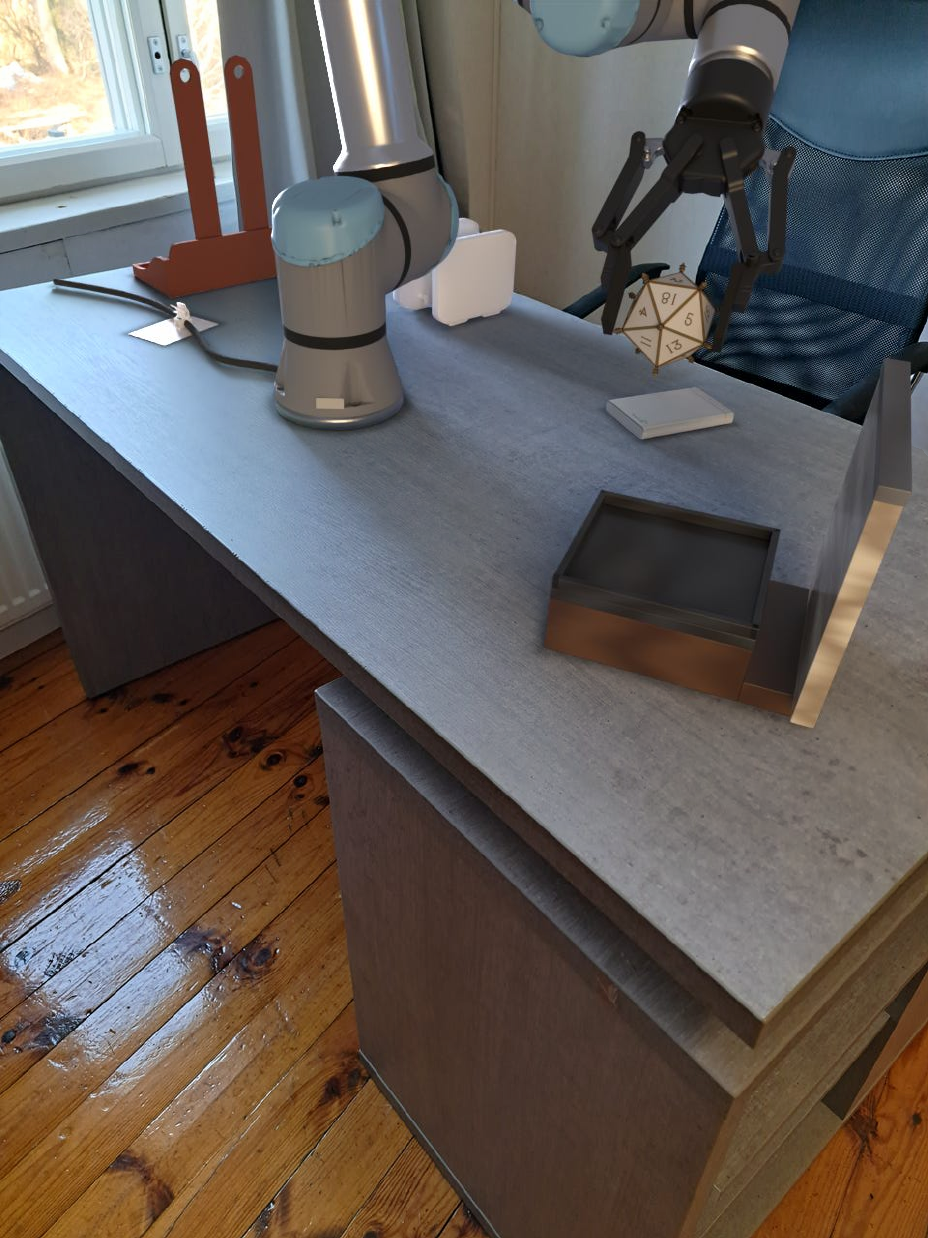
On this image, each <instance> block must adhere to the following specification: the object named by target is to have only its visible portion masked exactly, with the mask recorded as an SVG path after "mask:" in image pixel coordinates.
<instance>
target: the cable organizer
mask: <svg viewBox="0 0 928 1238" xmlns="http://www.w3.org/2000/svg"><path fill="white" fill-rule="evenodd" d="M480 230H481V229H480V226H479V224H478V222H476V221H475V220H472V219H469V218H466V217H459V228H458V234H457V238H456V241H455V244H454V246H453V248H452V250H451V251H450V253H449V254H448V256H447V257H446V258H445V259H444V260H443V261H442V262H441V263H440V264H439V265H437V266H436V268H435V269H433V270H432V271H431V272H430V273H429V274H427V275H425V276H423V277H421V278H419V279H416V280H412V281H410V282H409V283H407V284H405V285H403V286H401V287H400V288H398V289H396V290H394V291H392V296H393V297H392V298H393V301H394V303H395V304H396V305H398V306H400V307H402V308H404V309H406V310H412V311H417V310H422V309H425V308H430V307H431V310H432V312H431V313H432V316H433V319H435V320H436V321H437V322H439V323H442V324H444V325H447V326H448V327H454V326H457V325H460V324H463V323H466V322H468V320H470V319H475V318H478V317H483V318H488V317H491V316H495V315H498V314H500V313H501V312H502V311H503V310H506V309H507V308H508V307H509V306H510V304H511V303H512V302H513V297H514V288H515V274H516V273H515V271H516V259H517V257H516V255H517V238H516V235H515V234H514V233H513V232H512V231H509V230H506V229H494V230H490V231H484V232H480Z"/></svg>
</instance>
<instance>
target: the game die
mask: <svg viewBox="0 0 928 1238" xmlns="http://www.w3.org/2000/svg"><path fill="white" fill-rule="evenodd" d="M686 268H687V266H686V264H685V261H684V262H682V263H681V264H680V265H679V268H678V272H674V273H671V274H667V275H664V276H660V277H656V278H652V279H649V278H650V276H649V274H648V273H645V272H642V273H641V276H640V277H641V280H642V281H643V282H644V283H643V285H642V287H640V289H639V290H638V291H637V293H634V292H633V291H630V292H627V293H628V299H630V300H632V302H631V305H630V307H629V310H628V311H627V315H626V317H625V319H624V322H623V324H622V327H615V328H614V330H613V332H612V333H613V334H615V335H616V336H617V335H621V333H623V335H625V336H626V338H627V339H628V340H629V341H630V342H631V343H632V345H634V346H635V347H636V348H635V349H634V350H635V353H634V354H635V355H640V354H642V355H643V356H644V358H646V359H647V360H648V361H649V362H650V364H651V365H653V367H654V368H653V369H652V371H651V373H652V376H653V378H655V377H657V376H658V375H659V374H660V373H659V372H660V370H659V368H661V367H664V366H667V365H670V364H673V363H675V362H679V361H681V360H684V359H687V361H688V364H689V363H690V364H694V363H695V360H696V359H695V358H694V356H693V354H695V353H696V352H697V351H698V350H699V349H701V348H702V347H704V348H705V349H706V350H708V351H709V350H712V343H711V342H709V341H707V340H708V336H709V333H710V330H711V327H712V324H713V321H714V318H715V316H716V313H720V310H721V306H722V304H720V305H718V306H716V307H715V305H714V304H713V303H712V301H711V300H710V299H709V298H708V296H707V295H706V294H705V292H704V291H703V290H705V288H707V283H708V282H707V281H701V282H700V283H699V285H697V283H696V282H694V281H693V280H692V279H691V278H689V276H688V275H686V274H685V273H684V272H685V271H686Z"/></svg>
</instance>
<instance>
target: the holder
mask: <svg viewBox="0 0 928 1238" xmlns="http://www.w3.org/2000/svg"><path fill="white" fill-rule="evenodd" d="M911 365H912V363H911V361H906V360H900V359H895V358H888V357H884V359H883V361H882V364H881V367H880V369H879V370H880V371H879V372H880V373H879V378H878V380H877V384H876V386H875V388H874V389H875V390H874V392H873V395H872V398H871V400H870V404H869V407H868V409H867V413H866V415H865V418H864V421H863V424H862V427H861V429H860V432H859V435H858V437H857V441H856V444H855V447H854V450H853V453H852V456H851V459H850V461H849V465H848V467H847V470H846V472H845V475H844V479H843V482H842V484H841V488H840V490H839V493H838V496H837V498H836V502H835V505H834V508H833V510H832V513H831V516H830V519H829V521H828V525H827V528H826V530H825V533H824V537H823V539H822V541H821V545H820V548H819V550H818V552H817V556H816V559H815V562H814V565H813V567H812V571H811V577H810V585H809V588H806V587H802V586H798V585H794V584H790V583H786V582H782V581H777V580H772V575H773V569H774V564H775V560H776V555H777V550H778V546H779V541H780V536H781V532H782V529H780V528H776V527H772V526H767V525H763V524H758V523H754V522H749V521H745V520H740V519H736V518H731V517H726V516H722V515H719V514H714V513H709V512H704V511H699V510H695V509H691V508H687V507H683V506H677V505H673V504H668V503H663V502H659V501H655V500H649V499H645V498H640V497H636V496H632V495H628V494H623V493H618V492H614V491H610V490H604V489H601V490H600V491H599V493H598V495H597V497H596V499H595V500H594V502H593V503H592V505H591V507H590V509H589V511H588V512H587V515H586V516H585V518H584V520H583V521H582V523H581V525H580V527H579V529H578V531H577V532H576V534H575V535H574V538H573V539H572V541H571V542H570V545H569V546H568V549H567V550H566V552H565V554H564V555H563V557H562V559H561V560H560V563H559V564H558V566H557V568H556V569H555V572H554V573H553V575H552V577H551V585H550V593H549V594H550V595H549V601H548V610H547V619H546V627H545V637H544V644H543V647H544V649H547V650H551V651H555V652H558V653H562V654H566V655H569V656H572V657H576V658H579V659H583V660H587V661H590V662H594V663H598V664H601V665H605V666H608V667H613V668H615V669H619V670H623V671H626V672H630V673H633V674H637V675H640V676H644V677H648V678H650V679H655V680H657V681H658V680H659V681H662V682H666V683H670V684H673V685H677V686H680V687H683V688H688V689H691V690H694V691H698V692H702V693H705V694H709V695H712V696H716V697H719V698H723V699H726V700H730V701H733V702H738V703H741V704H744V705H749V706H752V707H755V708H759V709H763V710H767V711H770V712H774V713H777V714H780V715H784V716H787V717H789V722H790V723H791V724H795V725H798V726H803V727H806V728H809V729H814V728H815V725H816V723H817V720H818V718H819V715H820V713H821V712H822V708H823V707H824V703H825V701H826V699H827V696H828V694H829V691H830V689H831V686H832V684H833V681H834V679H835V677H836V674H837V672H838V669H839V667H840V665H841V662H842V659H843V657H844V654H845V653H846V650H847V647H848V645H849V642H850V640H851V637H852V635H853V633H854V630H855V627H856V625H857V622H858V620H859V617H860V614H861V613H862V610H863V607H864V605H865V603H866V600H867V598H868V595H869V593H870V591H871V589H872V585H873V583H874V580H875V578H876V576H877V573H878V571H879V568H880V566H881V563H882V561H883V558H884V556H885V554H886V551H887V549H888V546H889V544H890V541H891V539H892V536H893V534H894V531H895V529H896V526H897V524H898V521H899V519H900V517H901V514H902V512H903V509H904V508H906V507H907V506H908V504H909V501H910V500H911V496H912V494H913V472H912V471H913V460H912V459H913V455H912V454H913V453H912V451H913V449H912V448H913V447H912V376H911V375H912V374H911V373H912V371H911V370H912V369H911V367H912V366H911Z"/></svg>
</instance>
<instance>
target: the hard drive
mask: <svg viewBox="0 0 928 1238" xmlns="http://www.w3.org/2000/svg"><path fill="white" fill-rule="evenodd" d="M605 411H606V412H607V413H608V414H609V415H610V416H611V417H612V418H613V419H615V420H616V421H617V422H619V424H621V425H622V426H623V427H624V428H625V429H627V431H629V432H630V433H631V434H633V435H634V436H635V437H636V438H638V439H639V440H646V439H652V438H657V437H663V436H668V435H673V434H679V433H685V432H690V431H695V430H701V429H706V428H711V427H717V426H723V425H728V424H732V423H733V420H734V416H735V413H734V411H732V410H731V409H730V408H728V407H726V406H725V405H724V404H723V403H721V402H719V401H718V400H716V399H715V398H713V397H712V396H711V395H709V394H707V393H706V392H704V390H702V389H700V388H698V387H697V386H693V387H686V388H678V389H673V390H665V391H658V392H651V393H646V394H640V395H634V396H627V397H620V398H613V399H608V400H607V401H606V407H605Z"/></svg>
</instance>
